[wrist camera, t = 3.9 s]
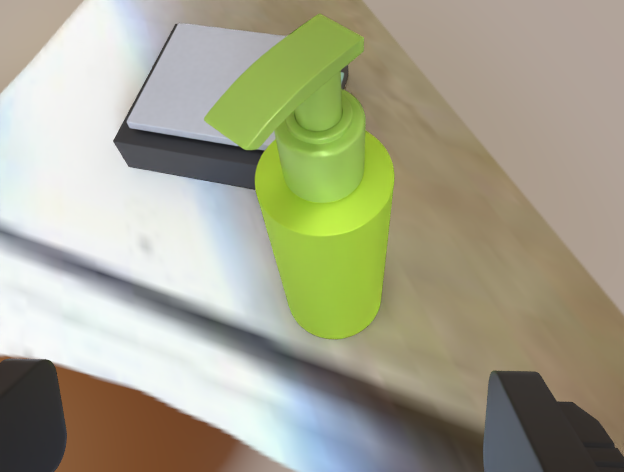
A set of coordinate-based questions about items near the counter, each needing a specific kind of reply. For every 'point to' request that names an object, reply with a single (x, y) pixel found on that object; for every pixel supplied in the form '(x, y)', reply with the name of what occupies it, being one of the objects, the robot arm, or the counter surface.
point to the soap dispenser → (315, 176)
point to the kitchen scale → (194, 106)
